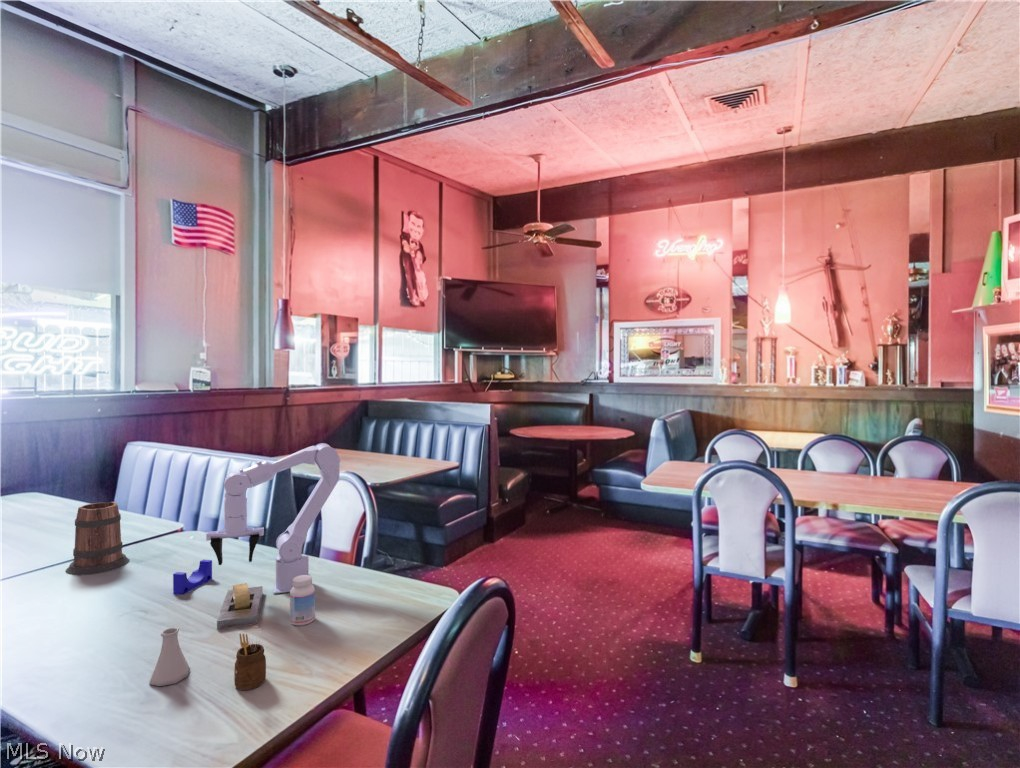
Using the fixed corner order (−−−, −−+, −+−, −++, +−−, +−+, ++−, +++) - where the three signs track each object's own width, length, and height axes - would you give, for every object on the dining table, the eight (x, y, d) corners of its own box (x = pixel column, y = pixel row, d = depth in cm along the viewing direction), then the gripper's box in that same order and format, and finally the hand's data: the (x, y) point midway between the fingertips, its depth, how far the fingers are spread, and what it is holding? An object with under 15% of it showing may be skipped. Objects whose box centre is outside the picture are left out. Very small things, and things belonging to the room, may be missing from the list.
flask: (162, 668, 117) (162, 623, 117) (196, 667, 117) (196, 622, 117) (141, 688, 110) (141, 639, 109) (178, 687, 110) (178, 639, 110)
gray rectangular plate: (262, 593, 156) (262, 586, 156) (256, 623, 137) (256, 615, 137) (227, 597, 153) (227, 590, 153) (216, 629, 134) (216, 621, 134)
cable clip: (199, 578, 167) (199, 559, 167) (212, 579, 166) (212, 560, 166) (168, 594, 155) (168, 573, 155) (182, 595, 155) (182, 574, 154)
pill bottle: (319, 617, 141) (320, 575, 141) (303, 628, 136) (304, 584, 135) (301, 614, 143) (301, 572, 143) (284, 624, 138) (284, 580, 137)
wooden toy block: (246, 602, 149) (246, 583, 149) (249, 613, 143) (249, 593, 142) (232, 605, 148) (232, 585, 147) (235, 616, 141) (235, 596, 141)
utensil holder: (270, 674, 115) (270, 619, 115) (257, 692, 109) (257, 633, 108) (242, 674, 115) (242, 619, 114) (228, 692, 108) (228, 633, 108)
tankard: (139, 563, 179) (139, 503, 178) (77, 579, 165) (77, 514, 164) (108, 549, 192) (108, 494, 191) (49, 563, 177) (48, 503, 177)
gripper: (264, 509, 159) (264, 555, 160) (209, 513, 154) (209, 560, 155) (262, 515, 153) (262, 563, 153) (204, 520, 148) (205, 569, 148)
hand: (235, 562), depth 153 cm, fingers open, 7 cm apart
